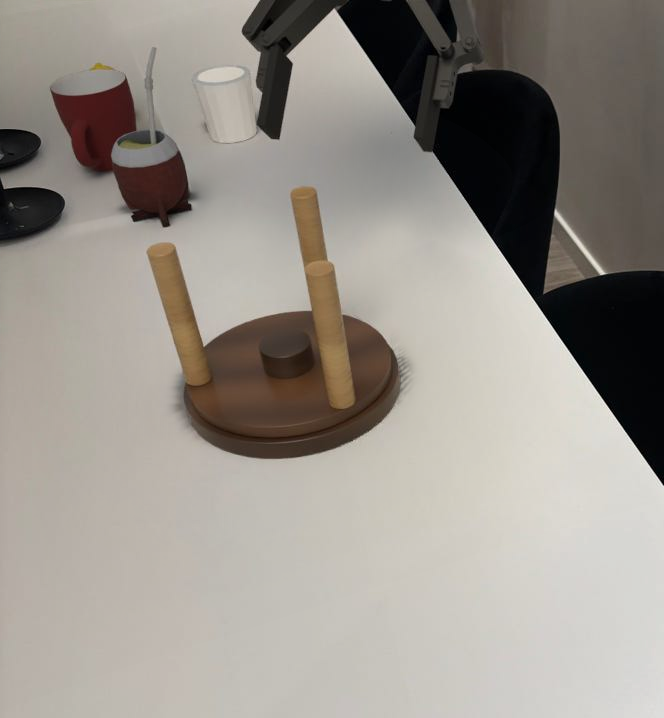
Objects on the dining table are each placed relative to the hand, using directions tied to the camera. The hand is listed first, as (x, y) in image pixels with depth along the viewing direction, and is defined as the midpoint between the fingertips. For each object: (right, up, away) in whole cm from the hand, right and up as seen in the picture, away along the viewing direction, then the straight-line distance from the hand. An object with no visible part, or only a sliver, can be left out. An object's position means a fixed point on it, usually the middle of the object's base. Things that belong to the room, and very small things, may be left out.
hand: (343, 139), depth 78 cm
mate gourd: (-23, +2, +25) cm, 33 cm away
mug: (-31, +8, +32) cm, 45 cm away
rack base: (-4, -20, 0) cm, 21 cm away
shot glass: (-19, +16, +40) cm, 47 cm away
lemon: (-34, +17, +42) cm, 57 cm away
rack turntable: (-4, -19, -1) cm, 20 cm away
